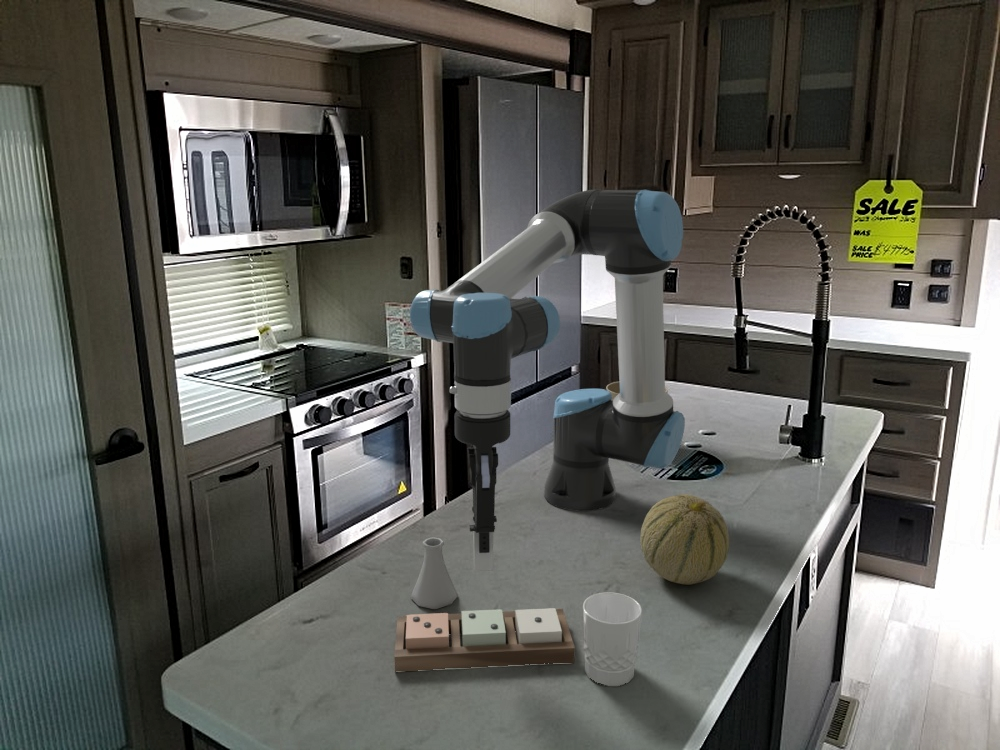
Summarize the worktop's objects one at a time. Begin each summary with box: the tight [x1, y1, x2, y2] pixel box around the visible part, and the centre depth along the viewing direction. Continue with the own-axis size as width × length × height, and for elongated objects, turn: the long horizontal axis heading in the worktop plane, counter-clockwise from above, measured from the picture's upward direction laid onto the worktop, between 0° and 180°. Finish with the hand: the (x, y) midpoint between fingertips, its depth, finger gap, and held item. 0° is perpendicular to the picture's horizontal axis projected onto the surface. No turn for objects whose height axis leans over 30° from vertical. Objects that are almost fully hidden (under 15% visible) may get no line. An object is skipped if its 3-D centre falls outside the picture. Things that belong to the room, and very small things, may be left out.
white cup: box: [582, 591, 643, 687], centre depth 105 cm, size 8×8×10 cm
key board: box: [393, 608, 576, 673], centre depth 111 cm, size 10×25×2 cm, turn 95°
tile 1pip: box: [514, 607, 562, 644], centre depth 112 cm, size 6×6×3 cm
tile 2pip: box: [460, 608, 506, 647], centre depth 111 cm, size 6×6×3 cm
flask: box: [410, 536, 459, 610], centre depth 123 cm, size 7×7×10 cm
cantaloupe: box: [639, 493, 731, 586], centre depth 129 cm, size 15×15×15 cm
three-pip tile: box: [405, 612, 450, 649], centre depth 111 cm, size 6×6×3 cm
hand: (483, 568), depth 109 cm, fingers closed
